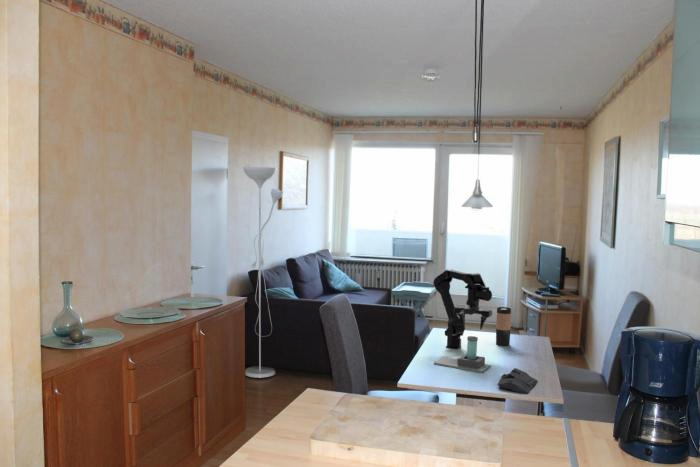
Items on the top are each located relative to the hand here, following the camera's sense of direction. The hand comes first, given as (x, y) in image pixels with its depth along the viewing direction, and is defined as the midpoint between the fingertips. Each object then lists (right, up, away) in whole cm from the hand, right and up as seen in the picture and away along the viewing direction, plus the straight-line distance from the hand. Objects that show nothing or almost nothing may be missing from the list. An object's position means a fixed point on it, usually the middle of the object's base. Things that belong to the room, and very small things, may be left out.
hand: (472, 328), depth 298 cm
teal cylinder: (-5, -13, -23) cm, 27 cm away
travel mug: (+21, -13, +21) cm, 32 cm away
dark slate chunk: (+8, -17, -49) cm, 52 cm away
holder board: (-9, -14, -22) cm, 28 cm away
